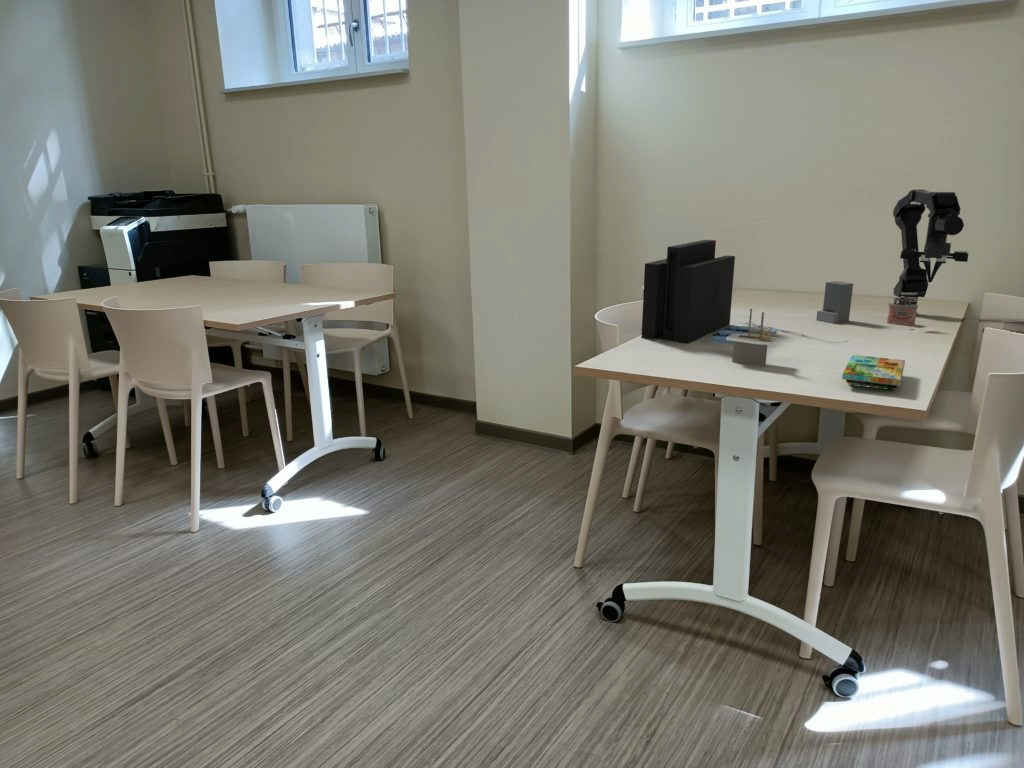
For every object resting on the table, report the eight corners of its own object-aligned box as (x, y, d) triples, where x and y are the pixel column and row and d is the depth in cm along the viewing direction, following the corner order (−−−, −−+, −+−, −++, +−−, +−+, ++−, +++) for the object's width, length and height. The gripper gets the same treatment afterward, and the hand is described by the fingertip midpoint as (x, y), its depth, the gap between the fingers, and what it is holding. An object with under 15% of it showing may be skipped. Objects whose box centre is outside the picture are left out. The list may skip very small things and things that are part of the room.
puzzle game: (905, 357, 181) (901, 376, 164) (902, 375, 182) (898, 396, 166) (852, 351, 187) (843, 369, 170) (850, 370, 188) (840, 389, 171)
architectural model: (714, 350, 209) (717, 300, 205) (808, 362, 196) (814, 308, 192) (689, 367, 192) (692, 312, 188) (791, 380, 179) (797, 322, 175)
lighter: (885, 328, 237) (889, 296, 234) (886, 326, 239) (890, 294, 237) (914, 330, 233) (919, 298, 230) (914, 328, 236) (919, 296, 233)
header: (833, 318, 245) (834, 308, 244) (850, 321, 240) (851, 311, 239) (816, 320, 241) (817, 311, 241) (833, 324, 236) (834, 314, 235)
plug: (832, 318, 245) (836, 281, 242) (848, 321, 240) (853, 283, 236) (821, 319, 242) (825, 282, 239) (838, 322, 237) (842, 284, 234)
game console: (687, 319, 251) (693, 238, 243) (780, 330, 234) (788, 242, 226) (641, 338, 223) (645, 246, 216) (742, 351, 206) (750, 252, 199)
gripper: (902, 233, 235) (895, 283, 240) (971, 235, 226) (963, 287, 231) (904, 231, 245) (898, 279, 249) (971, 233, 236) (963, 283, 240)
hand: (929, 282), depth 242 cm, fingers closed
